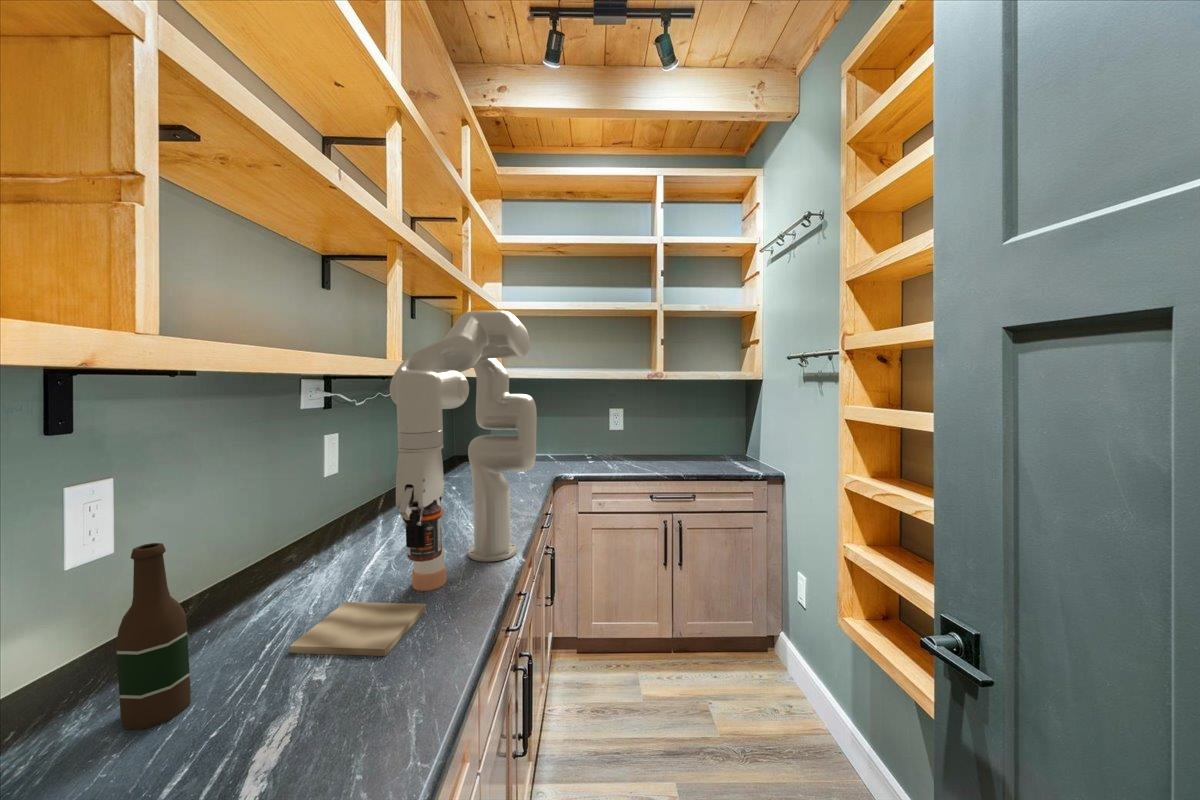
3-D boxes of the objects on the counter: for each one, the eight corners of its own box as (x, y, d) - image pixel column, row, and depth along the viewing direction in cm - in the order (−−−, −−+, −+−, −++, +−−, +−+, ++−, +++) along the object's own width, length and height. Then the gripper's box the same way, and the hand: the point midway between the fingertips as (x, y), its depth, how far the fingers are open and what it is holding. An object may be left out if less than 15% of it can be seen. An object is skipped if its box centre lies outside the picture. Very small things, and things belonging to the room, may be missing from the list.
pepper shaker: (446, 588, 107) (444, 503, 106) (411, 592, 105) (408, 506, 104) (446, 575, 114) (444, 495, 113) (413, 579, 112) (411, 498, 111)
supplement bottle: (405, 564, 83) (402, 500, 82) (409, 552, 89) (406, 491, 88) (441, 560, 85) (439, 497, 84) (443, 548, 90) (441, 489, 90)
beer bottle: (178, 723, 66) (168, 552, 65) (105, 738, 63) (93, 559, 62) (203, 688, 73) (194, 534, 72) (138, 700, 71) (128, 540, 69)
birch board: (345, 607, 99) (345, 601, 99) (426, 609, 97) (425, 604, 97) (289, 652, 83) (289, 645, 83) (385, 656, 82) (385, 649, 81)
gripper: (421, 434, 94) (425, 524, 95) (374, 449, 77) (379, 558, 78) (459, 434, 94) (462, 524, 95) (419, 449, 76) (423, 559, 78)
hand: (424, 539), depth 87 cm, fingers closed on supplement bottle, 6 cm apart
